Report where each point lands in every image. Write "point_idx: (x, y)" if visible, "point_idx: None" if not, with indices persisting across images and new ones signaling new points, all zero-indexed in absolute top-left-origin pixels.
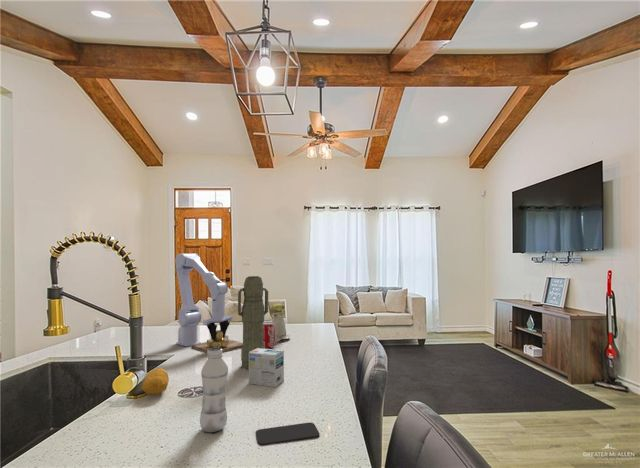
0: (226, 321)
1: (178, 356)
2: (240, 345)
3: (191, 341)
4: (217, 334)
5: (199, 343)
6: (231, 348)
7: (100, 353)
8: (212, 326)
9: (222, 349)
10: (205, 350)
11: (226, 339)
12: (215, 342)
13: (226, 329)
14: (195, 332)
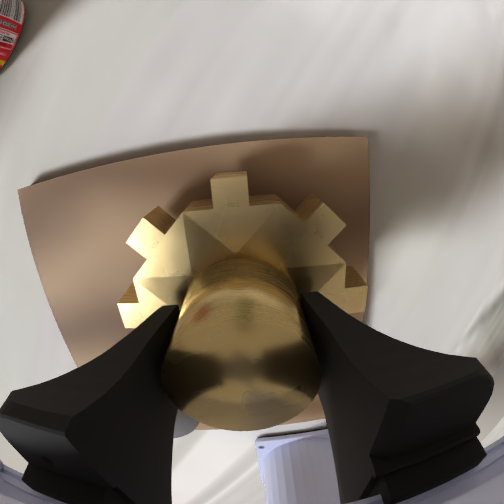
0: (53, 480)
1: (489, 278)
2: (65, 175)
3: (319, 450)
4: (289, 314)
5: (294, 421)
6: (161, 153)
7: (500, 428)
8: (486, 370)
9: (265, 149)
10: (364, 265)
11: (152, 266)
12: (335, 219)
13: (104, 355)
14: (300, 495)
